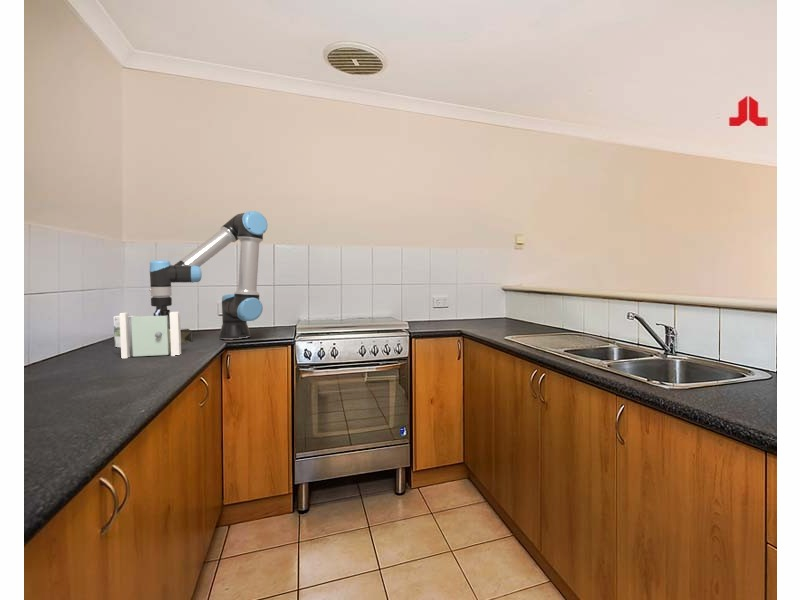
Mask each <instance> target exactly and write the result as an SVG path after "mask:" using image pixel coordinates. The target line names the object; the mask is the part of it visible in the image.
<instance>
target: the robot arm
mask: <svg viewBox="0 0 800 600" xmlns="http://www.w3.org/2000/svg"><path fill="white" fill-rule="evenodd" d="M267 230H268V220H267V218H266V217H265V216H264V215H263V214H262V213H261V212H259V211H256V210H255V211H254V210H249V211H246V212H243V213H238V214H235V215H234V216H232V217H231V218H230V219H228V221H226V222H225V223H224V224H223V225H222V226H220V230H219V231H218V232H216V233H215V234H213V235H212V236H211V237H209V238H208V239H207V240H206V241H204V242H203V243H201V244H200V245H199V246H197V247H195V249H193V250H192V251H191V252H189V253H188V254H186V255H185V256H184V257H183V258H181V259H180V260H179V261H178V262H175V264H174V265H173V264H171V261H170V260H157V259H155V260H153V259H152V260H151V261H150V262H149V270H148V271H149V283H150V288H149V289H148V291H149V292H150V296H151V297H150V305H151V307H155V311H154V312H153V314H152V316H168V323H169V329H170V312H171V310H170V309H168V307H171V306H172V304H173V300H172V297H171V296H173V294H172V284H175V283H191V284H192V283H199V282H200V281H201V280H202V277H203V276H202V273H203V272H202V269H201V268H200V267H201V266H203V265H205V263H206V262H208V261H209V260H210V259H212V258H213V257H215V256H216V255H217V254H218V253H219V252H220V251H222V250H224V248H226V247H227V246H229V244H231V243H236V242H237V241H240V247H239V248H240V250H239V251H240V253H239V266H238V267H239V268H238V282H237V283H238V284H237V285H238V286H237V288H238V289H237V290H236V291H235V292H234V293H232V294H224V295H222V297H221V315H222V316H221V317H222V324H221V329H220V331H219V334H218V339H219V338H239V337H246V336H250V337H251V332H250V328H249V325H248V323H247V322H253V321H255V320H257V319H259V318H260V316H261V315H262V313H263V303H262V302H261V301H260V293H259V292H258V291H257V286H258V272H259V269H258V268H259V253H260V244H261V242H263V240H264V234H265V233H266V232H267Z"/></svg>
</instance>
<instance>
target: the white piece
mask: <svg viewBox="0 0 800 600" xmlns="http://www.w3.org/2000/svg"><path fill="white" fill-rule="evenodd" d="M128 315H129V312H120V313H119V315H118V316H120V339H121V348H120V356H121V358H122V359H128V357H129V358H130V357H131V354H130V340H129V317H128ZM169 317H170V339H171V351H170V356H171V357H176V356H175V355H180V354H181V355H182V343H181V331H180V330H181V312H180V311H170V314H169ZM181 355H180V356H181Z"/></svg>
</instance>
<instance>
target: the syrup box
mask: <svg viewBox="0 0 800 600" xmlns="http://www.w3.org/2000/svg"><path fill="white" fill-rule="evenodd" d="M133 316H135V315H133V314H132V315H131V314H128V317H133ZM112 319H113V335H114V336H113V337H114V348H115V347H117V349H118V348H119V349H121V339H120V316H119V315H114V316H113V317H112ZM129 340H130V330H129Z"/></svg>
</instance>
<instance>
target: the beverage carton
mask: <svg viewBox="0 0 800 600" xmlns="http://www.w3.org/2000/svg"><path fill="white" fill-rule="evenodd" d="M180 331H181V344H185V343H184V342H192V343H193V341H192V340H193V339H192V338H193V336H192V333H193V332H192V331H191V329H189V328H184V329H183V328H182V329H181V328H180Z"/></svg>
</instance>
